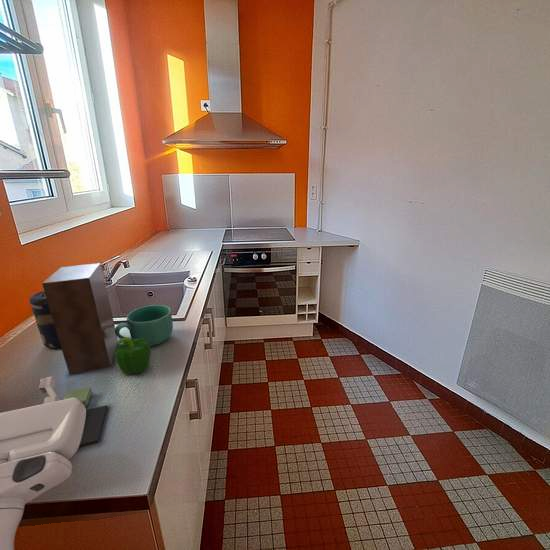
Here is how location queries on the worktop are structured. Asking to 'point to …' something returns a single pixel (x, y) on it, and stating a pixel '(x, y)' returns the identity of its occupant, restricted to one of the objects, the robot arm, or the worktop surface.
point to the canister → (44, 320)
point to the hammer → (80, 395)
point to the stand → (82, 316)
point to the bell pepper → (132, 355)
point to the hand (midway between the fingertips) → (12, 385)
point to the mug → (148, 324)
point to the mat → (93, 425)
